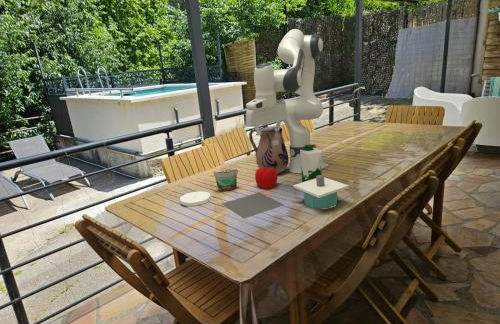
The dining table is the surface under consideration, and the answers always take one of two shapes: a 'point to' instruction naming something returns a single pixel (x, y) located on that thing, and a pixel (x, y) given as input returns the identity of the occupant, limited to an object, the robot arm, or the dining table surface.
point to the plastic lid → (195, 198)
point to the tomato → (266, 177)
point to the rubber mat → (252, 205)
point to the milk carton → (310, 162)
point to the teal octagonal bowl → (320, 200)
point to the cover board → (320, 186)
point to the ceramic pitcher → (270, 149)
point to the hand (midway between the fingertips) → (268, 133)
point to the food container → (226, 180)
